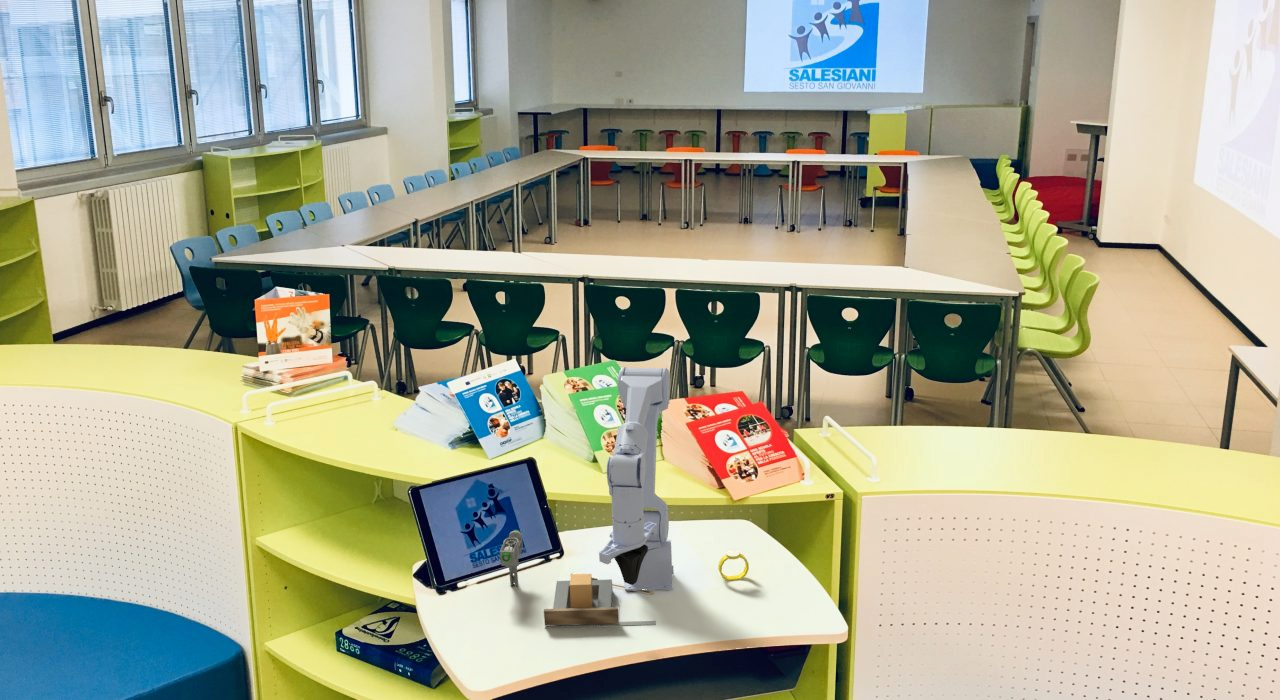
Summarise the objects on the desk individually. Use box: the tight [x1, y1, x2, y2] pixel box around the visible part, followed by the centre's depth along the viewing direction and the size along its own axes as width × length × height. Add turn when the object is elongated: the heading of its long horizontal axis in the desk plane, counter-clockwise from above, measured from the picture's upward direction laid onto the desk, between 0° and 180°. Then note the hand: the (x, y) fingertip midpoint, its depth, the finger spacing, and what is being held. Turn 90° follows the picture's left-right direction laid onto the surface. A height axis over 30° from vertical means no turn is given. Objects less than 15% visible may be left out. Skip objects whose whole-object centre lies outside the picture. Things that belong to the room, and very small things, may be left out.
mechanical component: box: [499, 529, 524, 587], centre depth 220 cm, size 3×10×10 cm, turn 174°
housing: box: [544, 579, 657, 629], centre depth 212 cm, size 21×13×3 cm, turn 90°
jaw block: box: [569, 573, 593, 608], centre depth 211 cm, size 4×4×6 cm
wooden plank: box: [543, 606, 620, 626], centre depth 206 cm, size 14×1×3 cm, turn 90°
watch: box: [717, 549, 750, 582], centre depth 220 cm, size 6×3×6 cm, turn 99°
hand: (630, 582), depth 203 cm, fingers closed
